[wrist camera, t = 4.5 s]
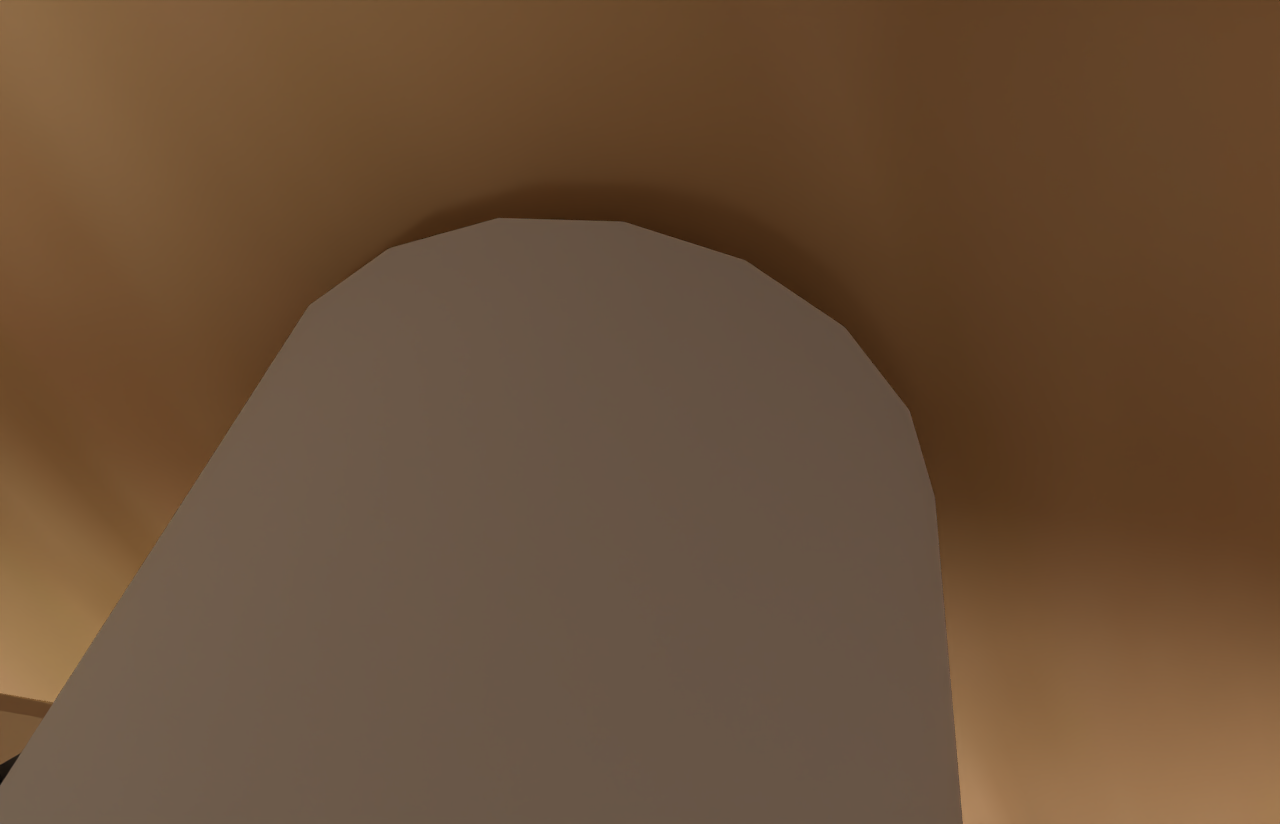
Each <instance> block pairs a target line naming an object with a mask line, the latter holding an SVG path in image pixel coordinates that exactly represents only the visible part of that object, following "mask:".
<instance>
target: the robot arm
mask: <svg viewBox="0 0 1280 824" xmlns="http://www.w3.org/2000/svg"><path fill="white" fill-rule="evenodd" d="M53 703H54V702H48V701H42V700H36V699H31V698H25V697H19V696H14V695H8V694H2V693H0V785H1V784H2V782H3V780H4V779H5V777H6V776H7V774H8V773H9V771H10V770H11V768H12V766H13V765H14V763H15V762H16V760H17V759H18V757H19V756H20V754H21V752H22V751H23V749H24V748H25V746H26V745H27V743H28V742H29V740H30V738H31V737H32V735H33V734H34V732H35V731H36V729H37V728H38V726H39V724H40V723H41V721H42V720H43V718H44V717H45V715H46V714H47V712H48V710H49V709H50V707H51V706H52V704H53Z"/></svg>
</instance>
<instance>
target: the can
mask: <svg viewBox="0 0 1280 824" xmlns="http://www.w3.org/2000/svg"><path fill="white" fill-rule="evenodd" d="M0 824H963V821H962V810H961V798H960V786H959V774H958V762H957V750H956V739H955V727H954V715H953V703H952V691H951V679H950V668H949V656H948V644H947V632H946V620H945V608H944V597H943V585H942V573H941V561H940V549H939V538H938V526H937V514H936V502H935V496H934V492H933V489H932V485H931V482H930V479H929V475H928V472H927V468H926V465H925V462H924V458H923V455H922V451H921V448H920V444H919V441H918V438H917V434H916V431H915V427H914V424H913V420H912V417H911V414H910V410H909V409H908V408H907V407H906V405H905V404H904V403H903V401H902V400H901V399H900V398H899V396H898V395H897V394H896V392H895V391H894V390H893V389H892V387H891V386H890V385H889V383H888V382H887V381H886V380H885V378H884V377H883V376H882V374H881V373H880V372H879V370H878V369H877V368H876V367H875V365H874V364H873V363H872V361H871V360H870V359H869V358H868V356H867V355H866V354H865V352H864V351H863V350H862V349H861V347H860V346H859V345H858V343H857V342H856V341H855V340H854V338H853V337H852V336H851V334H850V333H849V332H848V331H847V329H846V328H845V327H844V326H842V325H841V324H839V323H838V322H836V321H835V320H834V319H832V318H831V317H829V316H828V315H826V314H825V313H823V312H822V311H820V310H819V309H817V308H816V307H814V306H813V305H811V304H810V303H808V302H807V301H805V300H804V299H802V298H801V297H799V296H798V295H796V294H795V293H793V292H792V291H790V290H789V289H787V288H786V287H784V286H783V285H781V284H780V283H778V282H777V281H775V280H774V279H772V278H771V277H769V276H768V275H766V274H765V273H763V272H762V271H761V270H759V269H758V268H756V267H755V266H753V265H752V264H750V263H749V262H747V261H746V260H743V259H740V258H737V257H733V256H730V255H727V254H724V253H721V252H718V251H715V250H711V249H708V248H705V247H702V246H699V245H696V244H693V243H689V242H686V241H683V240H680V239H677V238H674V237H670V236H667V235H664V234H661V233H658V232H655V231H652V230H648V229H645V228H642V227H639V226H636V225H633V224H630V223H626V222H620V221H586V220H553V219H520V218H496V219H493V220H489V221H485V222H482V223H478V224H475V225H471V226H467V227H464V228H460V229H456V230H453V231H449V232H446V233H442V234H438V235H435V236H431V237H428V238H424V239H420V240H417V241H413V242H409V243H406V244H402V245H399V246H395V247H391V248H389V249H387V250H386V251H384V252H383V253H382V254H380V255H379V256H377V257H376V258H375V259H373V260H372V261H370V262H369V263H368V264H366V265H365V266H363V267H362V268H361V269H359V270H358V271H356V272H355V273H354V274H352V275H351V276H349V277H348V278H347V279H345V280H344V281H342V282H341V283H340V284H338V285H337V286H335V287H334V288H333V289H331V290H330V291H328V292H327V293H325V294H324V295H323V296H321V297H320V298H318V299H317V300H316V301H314V302H313V303H311V304H310V305H309V306H308V308H307V309H306V311H305V312H304V314H303V315H302V317H301V318H300V320H299V322H298V323H297V325H296V326H295V328H294V329H293V331H292V332H291V334H290V336H289V337H288V339H287V340H286V342H285V343H284V345H283V346H282V348H281V350H280V351H279V353H278V354H277V356H276V357H275V359H274V360H273V362H272V364H271V365H270V367H269V368H268V370H267V371H266V373H265V374H264V376H263V378H262V379H261V381H260V382H259V384H258V385H257V387H256V388H255V390H254V392H253V393H252V395H251V396H250V398H249V399H248V401H247V402H246V404H245V406H244V407H243V409H242V410H241V412H240V413H239V415H238V416H237V418H236V420H235V421H234V423H233V424H232V426H231V427H230V429H229V430H228V432H227V434H226V435H225V437H224V438H223V440H222V441H221V443H220V444H219V446H218V448H217V449H216V451H215V452H214V454H213V455H212V457H211V458H210V460H209V462H208V463H207V465H206V466H205V468H204V469H203V471H202V472H201V474H200V476H199V477H198V479H197V480H196V482H195V483H194V485H193V486H192V488H191V490H190V491H189V493H188V494H187V496H186V497H185V499H184V500H183V502H182V504H181V505H180V507H179V508H178V510H177V511H176V513H175V514H174V516H173V518H172V519H171V521H170V522H169V524H168V525H167V527H166V528H165V530H164V532H163V533H162V535H161V536H160V538H159V539H158V541H157V542H156V544H155V546H154V547H153V549H152V550H151V552H150V553H149V555H148V556H147V558H146V560H145V561H144V563H143V564H142V566H141V567H140V569H139V570H138V572H137V574H136V575H135V577H134V578H133V580H132V581H131V583H130V584H129V586H128V588H127V589H126V591H125V592H124V594H123V595H122V597H121V598H120V600H119V602H118V603H117V605H116V606H115V608H114V609H113V611H112V612H111V614H110V616H109V617H108V619H107V620H106V622H105V623H104V625H103V626H102V628H101V630H100V631H99V633H98V634H97V636H96V637H95V639H94V640H93V642H92V644H91V645H90V647H89V648H88V650H87V651H86V653H85V654H84V656H83V658H82V659H81V661H80V662H79V664H78V665H77V667H76V668H75V670H74V672H73V673H72V675H71V676H70V678H69V679H68V681H67V682H66V684H65V686H64V687H63V689H62V690H61V692H60V693H59V695H58V696H57V698H56V700H55V701H54V703H53V704H52V706H51V707H50V709H49V710H48V712H47V714H46V715H45V717H44V718H43V720H42V721H41V723H40V724H39V726H38V728H37V729H36V731H35V732H34V734H33V735H32V737H31V738H30V740H29V742H28V743H27V745H26V746H25V748H24V749H23V751H22V752H21V754H20V756H19V757H18V759H17V760H16V762H15V763H14V765H13V766H12V768H11V770H10V771H9V773H8V774H7V776H6V777H5V779H4V780H3V782H2V784H1V785H0Z"/></svg>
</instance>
